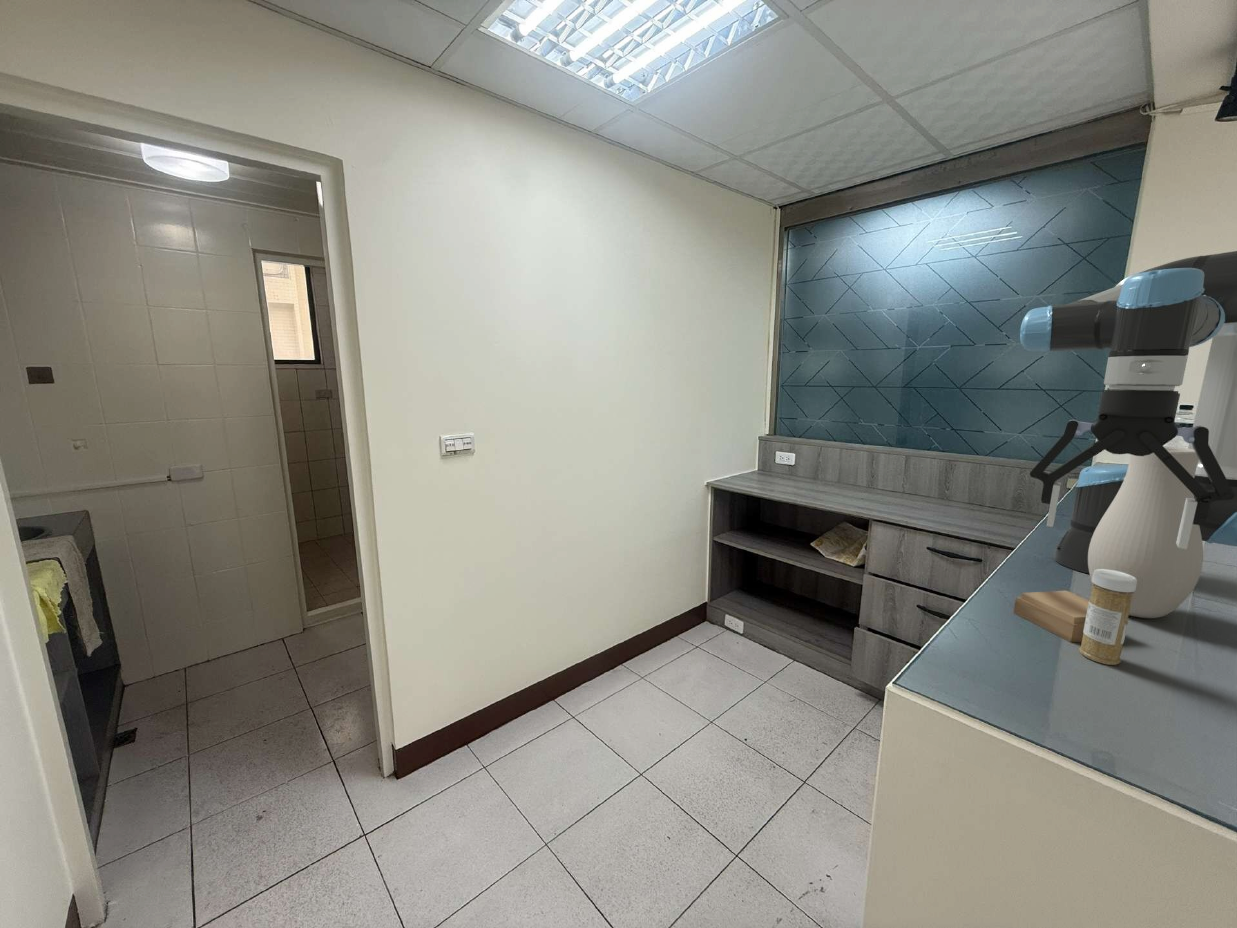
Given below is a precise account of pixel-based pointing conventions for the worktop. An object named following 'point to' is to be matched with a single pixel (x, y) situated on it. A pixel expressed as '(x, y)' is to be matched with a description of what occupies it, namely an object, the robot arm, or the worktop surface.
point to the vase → (1150, 535)
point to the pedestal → (1055, 612)
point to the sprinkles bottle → (1107, 616)
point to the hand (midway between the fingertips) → (1111, 535)
